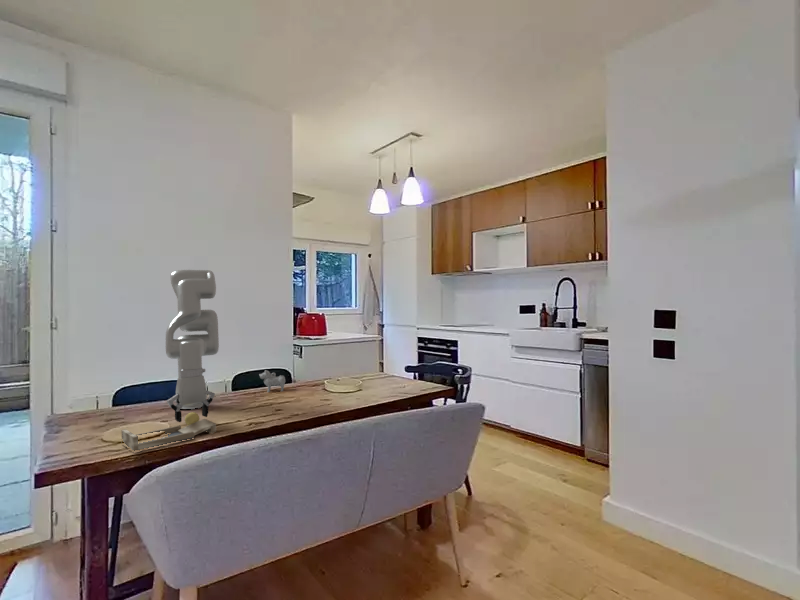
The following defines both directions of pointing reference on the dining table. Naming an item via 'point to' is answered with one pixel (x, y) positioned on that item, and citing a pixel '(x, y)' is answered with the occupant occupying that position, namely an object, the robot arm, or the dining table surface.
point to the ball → (191, 418)
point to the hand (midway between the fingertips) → (192, 418)
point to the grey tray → (132, 440)
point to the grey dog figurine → (272, 380)
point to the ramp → (199, 427)
